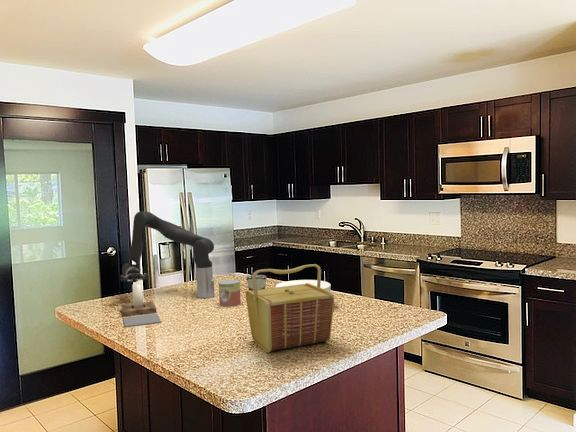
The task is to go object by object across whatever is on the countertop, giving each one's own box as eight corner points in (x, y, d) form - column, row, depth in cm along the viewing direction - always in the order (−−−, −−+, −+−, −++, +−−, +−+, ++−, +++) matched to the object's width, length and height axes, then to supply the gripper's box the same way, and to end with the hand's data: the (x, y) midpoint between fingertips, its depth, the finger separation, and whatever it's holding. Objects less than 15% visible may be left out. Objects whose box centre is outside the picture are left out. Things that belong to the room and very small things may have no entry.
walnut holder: (153, 305, 254) (152, 301, 254) (156, 312, 240) (156, 307, 239) (121, 309, 249) (121, 304, 248) (123, 316, 234) (122, 311, 234)
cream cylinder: (143, 309, 247) (141, 283, 246) (144, 311, 243) (142, 284, 242) (133, 310, 245) (132, 284, 245) (134, 312, 241) (132, 285, 240)
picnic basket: (267, 359, 169) (264, 275, 167) (244, 339, 193) (241, 265, 191) (338, 345, 181) (336, 267, 179) (308, 328, 204) (306, 259, 203)
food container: (268, 291, 282) (268, 274, 281) (267, 293, 276) (266, 276, 275) (248, 291, 283) (247, 274, 282) (246, 293, 277) (245, 276, 276)
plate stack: (292, 317, 222) (291, 293, 222) (267, 305, 247) (266, 284, 246) (342, 309, 235) (341, 286, 234) (313, 298, 260) (312, 277, 259)
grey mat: (157, 314, 236) (157, 313, 236) (161, 322, 221) (161, 321, 221) (123, 318, 230) (123, 317, 230) (125, 327, 215) (125, 326, 215)
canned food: (215, 306, 249) (214, 283, 249) (226, 301, 260) (225, 279, 259) (234, 307, 245) (233, 284, 245) (244, 302, 256) (243, 280, 255)
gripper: (119, 268, 266) (120, 273, 251) (146, 267, 271) (148, 271, 256) (120, 282, 266) (121, 287, 251) (146, 280, 272) (149, 285, 256)
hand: (135, 279), depth 254 cm, fingers open, 8 cm apart
